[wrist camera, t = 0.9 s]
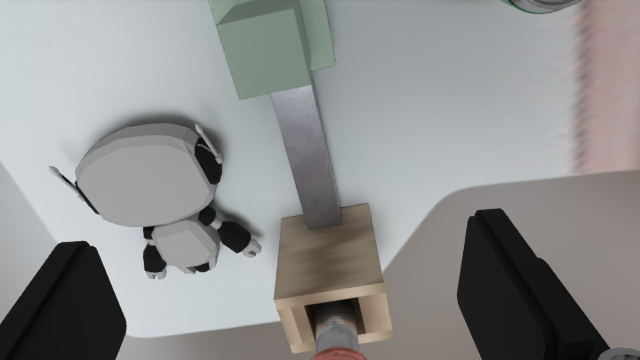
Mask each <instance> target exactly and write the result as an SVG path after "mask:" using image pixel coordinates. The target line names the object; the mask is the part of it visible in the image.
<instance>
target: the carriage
mask: <svg viewBox="0 0 640 360" xmlns="http://www.w3.org/2000/svg"><path fill="white" fill-rule="evenodd" d="M208 2H209V6H210V9H211V12H212V15H213V18H214V21H215V25H216V28H217V31H218V34H219V37H220V40H221V44H222V47H223V50H224V53H225V56H226V59H227V63H228V66H229V69H230V72H231V75H232V78H233V82H234V85H235V88H236V91H237V94H238V97H239V100H241V99H246V98H251V97H256V96H261V95H266V94H271V93H276V92H281V91H285V90H290V89H295V88H300V87H305V86H310V85H311V71H312V70H317V69H322V68H327V67H331V66H336V61H335V55H334V50H333V45H332V39H331V34H330V29H329V23H328V18H327V13H326V7H325V2H324V0H208Z"/></svg>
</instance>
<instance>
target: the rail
mask: <svg viewBox="0 0 640 360" xmlns="http://www.w3.org/2000/svg"><path fill="white" fill-rule="evenodd" d="M271 97H272V101H273V104H274V108H275V111H276V115H277V119H278V122H279V126H280V130H281V133H282V137H283V140H284V144H285V148H286V151H287V155H288V159H289V162H290V166H291V169H292V173H293V177H294V180H295V184H296V188H297V191H298V195H299V199H300V202H301V206H302V209H303V213H304V217H305V220H306V224H307V228H308V231H309V230H315V229H320V228H326V227H332V226H338V225H343V224H342V214H341V206H340V201H339V197H338V192H337V188H336V183H335V179H334V174H333V170H332V165H331V161H330V156H329V151H328V147H327V142H326V138H325V133H324V129H323V124H322V120H321V115H320V111H319V106H318V102H317V97H316V92H315V88H314V83H313V79H312V74H311V85H310V86H305V87H300V88H295V89H290V90H285V91H281V92H276V93H271Z"/></svg>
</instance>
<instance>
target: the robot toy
mask: <svg viewBox="0 0 640 360" xmlns="http://www.w3.org/2000/svg"><path fill="white" fill-rule="evenodd" d="M195 127H196V130H197V132H198V133H199V134H201V136H202V137H203V138H199V137H198V136H197V134H195V133H194V132H193V131H191V130H190V129H189V128H187V127H183V126H180V125H176V124H169V123H155V124H145V125H138V126H131V127H125V128H123V129H121V130H119V131H117V132H115V133H113V134H111V135H109V136H107V137H105V138H103V139H102V140H100V141H99V142H97V143H96V144H94V145H93V146H92V147H91V148H90V149H89V151H88V152H87V153H86V154H85V156H84V157H83V158H82V160H81V161H80V163H79V164H78V166H77V168H76V170H75V173H76V178H77V180H76V181H75V185H76V186H75V185H74V184H72V183H71V182H70V181H69V180H68V179H67V178H65V177H64V176H63V175H62V174H61V173H60V172H59V170H58V169H57V168H55V167H53V166H49V170H50V172H51V173H52V174H53V175H56V176H57V177H58V178H60V179H61V180H62V181H63V182H64V183H65V184H67V185H68V186H69V187H70V188H71V189H72V190H74V191H75V192H76V193H77V194H78V195H79V196H78V197H79V198H80V199H81V200H82V201H85V202H86V203H87V204H88V206H89V207H90V208H91V209H92V210H93V211H94V212H95V213H96V214H99V215H101V216H102V218H103V219H104V220H107V221H109V222H112V223H115V224H118V225H122V226H128V227H143V233H144V238H145V239H149V243H148V244H147V246H146V248H145V249H144V252H143V260H144V269H145V271H146V273H147V275H148V278H151V279H155V276H156V275H158V279H163V278H164V277H165V276H166V269H165V267H166V263H167V264H169V265H172V266H176V267H178V268H179V269H180V270H182V271H183V272H184V273H188V274H195V273H196V270H197V271H199V272H206V271H208V270H211V269H213V268H214V267H215V266H216V263H217V258H218V254H219V249H220V245H219V242H220V239H221V242H222V243H223V244H224V245H225V246H227V247H228V248H230V249H231V250H233V251H234V252H235V253H239V252H241V251H242V252H243V254H244V255H245V256H247V257H250V258H251V257H254V256H256V253H260V252H261V248H262V247H261V245H260V244H259V243H258V242H257V241H255V240H250V239H251V234H250V232H248V231H247V230H246V229H244V228H243V227H242V226H240V225H239V224H238V223H236V222H225V221H221V220H219V219H218V218H217V217H216V211H215V210H214V209H212V208H211V207H210V206H208V204H209V203H210V202H211V200H212V199H213V198H214V196H215V192H216V188H217V185H218V183H219V182H220V178H221V175H222V163H223V156H222V155H221V153H218V152H217V151H216V149H215V148H214V146H213V145H212V143H211V142H210V140H209V139H208V137H207V136H206V134H205V133H204V131H203V129H202V127H201V126H200V124H197V123H195Z"/></svg>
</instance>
